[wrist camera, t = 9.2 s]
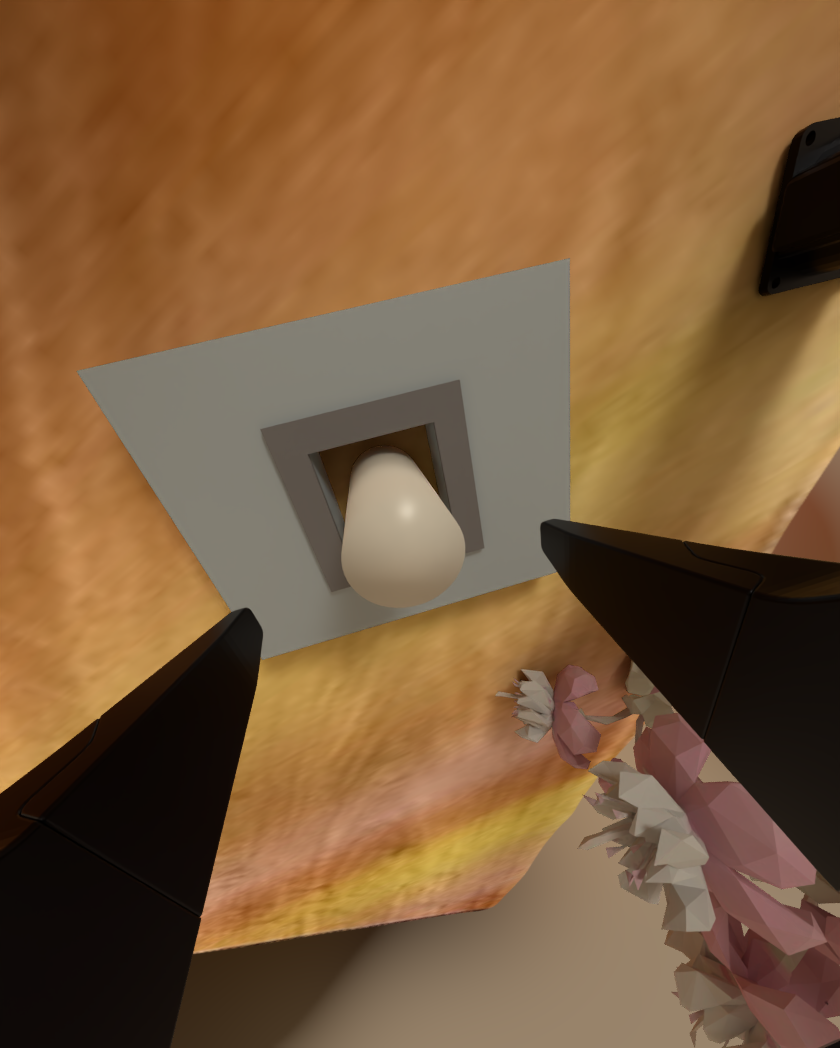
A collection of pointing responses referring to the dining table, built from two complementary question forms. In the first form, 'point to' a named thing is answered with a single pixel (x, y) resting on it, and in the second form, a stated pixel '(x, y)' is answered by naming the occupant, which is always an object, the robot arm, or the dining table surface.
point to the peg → (398, 532)
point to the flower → (703, 869)
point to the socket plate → (356, 440)
